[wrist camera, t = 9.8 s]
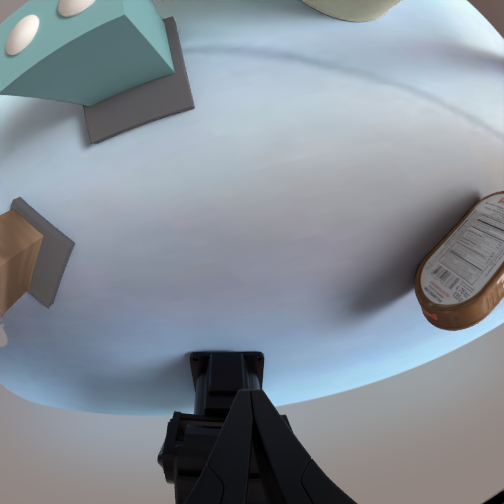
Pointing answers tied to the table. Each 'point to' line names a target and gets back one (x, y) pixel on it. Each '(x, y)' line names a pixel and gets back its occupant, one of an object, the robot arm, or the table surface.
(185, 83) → the socket
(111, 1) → the teal block
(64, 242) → the socket
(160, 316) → the table surface
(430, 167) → the table surface
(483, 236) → the tin
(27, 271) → the brown box
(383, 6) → the can
